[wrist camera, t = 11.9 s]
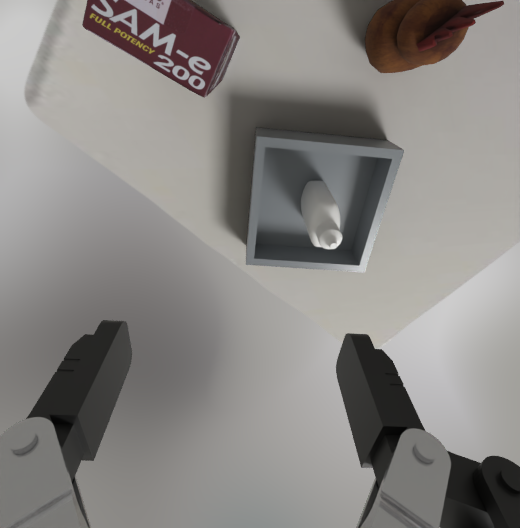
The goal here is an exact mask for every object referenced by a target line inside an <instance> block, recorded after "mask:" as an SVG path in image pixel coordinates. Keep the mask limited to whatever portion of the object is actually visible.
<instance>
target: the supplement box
mask: <svg viewBox="0 0 520 528" xmlns="http://www.w3.org/2000/svg"><path fill="white" fill-rule="evenodd" d="M83 27H84V28H85V29H86V30H88V31H90V32H92V33H94V34H95V35H97V36H99V37H100V38H102V39H104V40H106V41H107V42H109V43H111V44H112V45H114V46H116V47H118V48H119V49H121V50H123V51H125V52H126V53H128V54H130V55H131V56H133V57H135V58H137V59H138V60H140V61H142V62H143V63H145V64H147V65H149V66H150V67H152V68H153V69H155V70H157V71H158V72H160V73H162V74H163V75H165V76H167V77H168V78H170V79H172V80H174V81H175V82H177V83H179V84H180V85H182V86H184V87H185V88H187V89H189V90H191V91H192V92H194V93H196V94H198V95H200V96H202V97H206V96H207V95H208V94H209V93H211V91H212V90H213V89H214V88H215V87H216V86H217V85H218V84H219V83H220V82H221V81H222V80H223V77H224V75H225V72H226V70H227V67H228V65H229V63H230V60H231V58H232V55H233V53H234V50H235V48H236V45H237V43H238V41H239V38H240V36H239V35H238V33H237V32H236V30H235V29H234V28H233V27H231V26H230V25H228V24H226V23H224V22H223V21H221V20H220V19H218V18H217V17H215V16H214V15H212V14H211V13H209V12H208V11H206V10H205V9H203V8H202V7H200V6H199V5H197V4H196V3H194V2H193V1H191V0H87V6H86V10H85V15H84V20H83Z"/></svg>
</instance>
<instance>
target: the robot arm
mask: <svg viewBox="0 0 520 528" xmlns="http://www.w3.org/2000/svg"><path fill="white" fill-rule="evenodd" d="M131 359H132V349H131V344H130V338H129V332H128V326H127V323H126V322H125V321H108V320H103V321H102V322H101V323H100V325H99V326H98V328H97V330H96V332H95V334H94V335H87V334H85V335H84V336H83V337H81V338H80V339H79V340H78V341H77V342H76V343H74V344H73V345H72V346H71V348H70V349H69V351H68V353H67V354H66V356H65V358H64V361H62V363H61V364H60V366H59V368H58V369H57V372H55V374H54V375H53V377H52V379H51V381H50V382H49V384H48V385H47V387H46V388H45V390H44V392H43V393H42V395H41V397H40V398H39V400H38V401H37V403H36V405H35V406H34V408H33V410H32V411H31V413H30V414H29V416H28V417H27V418H26V419H25V420H22V421H20V422H18V423H16V424H14V425H13V426H11V427H10V428H8V429H7V430H6V431H5V432H4V433H3V434H2V435H1V436H0V528H91V525H90V522H89V519H88V516H87V512H86V509H85V505H84V502H83V499H82V496H81V492H80V489H79V486H78V482H77V479H76V476H75V474H76V472H77V469H78V467H79V465H80V462H81V460H91V461H93V460H94V458H95V456H96V453H97V450H98V448H99V445H100V442H101V440H102V438H103V435H104V432H105V430H106V427H107V425H108V422H109V420H110V417H111V414H112V411H113V409H114V407H115V404H116V401H117V399H118V396H119V393H120V391H121V389H122V386H123V383H124V380H125V378H126V376H127V373H128V371H129V367H130V364H131ZM336 373H337V379H338V383H339V386H340V390H341V394H342V397H343V401H344V404H345V409H346V412H347V416H348V420H349V423H350V427H351V431H352V435H353V438H354V442H355V446H356V449H357V453H358V457H359V460H360V464H361V467H362V468H373V470H374V473H375V476H376V478H375V480H374V483H373V485H372V488H371V490H370V493H369V496H368V498H367V501H366V503H365V506H364V509H363V511H362V514H361V516H360V519H359V522H358V524H357V527H356V528H439V527H440V528H520V467H519V466H518V465H516V464H515V463H513V462H511V461H510V460H508V459H505V458H502V457H499V456H489V457H487V458H485V460H483V462H482V463H478V462H476V461H473V460H470V459H468V458H465V457H462V456H459V455H456V454H453V453H451V452H449V451H447V450H446V449H445V447H444V446H443V445H442V443H441V442H440V441H439V440H438V439H437V438H435V437H434V436H433V435H431V434H430V433H428V432H426V431H425V429H424V427H423V425H422V423H421V421H420V419H419V417H418V415H417V413H416V410H415V408H414V406H413V404H412V402H411V400H410V397H409V395H408V393H407V391H406V389H405V387H403V382H402V380H401V378H400V376H398V372H397V370H396V367H395V365H394V363H393V361H392V360H391V359H390V358H389V357H388V356H387V355H386V354H385V352H384V351H383V350H382V349H375V348H374V346H373V344H372V341H371V339H370V337H369V336H368V335H367V334H346V335H345V338H344V341H343V344H342V347H341V350H340V353H339V356H338V360H337V365H336Z"/></svg>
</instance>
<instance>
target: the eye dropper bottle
mask: <svg viewBox="0 0 520 528" xmlns="http://www.w3.org/2000/svg"><path fill="white" fill-rule="evenodd" d="M301 212H302V216H303V219H304V222H305V225H306V228H307V231H308V234H309V237H310V239H311V242H312V244H313V245H314V246H316V247H323V248H325V249H336V248H337V247H338V246H339V244H340V243H341V241H342V234H341V232H340V230H339V228H340V213H339V209H338V206H337V203H336V201H335V199H334V198H333V196H332V194H331V192H330V191H329V189H328V187H327V185H326V184H325V182H324V181H309V182H308V183H307V184H306V185H305V188H304V190H303V193H302V197H301Z"/></svg>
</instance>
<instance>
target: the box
mask: <svg viewBox="0 0 520 528" xmlns="http://www.w3.org/2000/svg"><path fill="white" fill-rule="evenodd" d="M403 153H404V150H403V149H401V148H400V147H398V146H396V145H395V144H393V143H392V142H390V141H388V140H381V139H371V138H360V137H350V136H340V135H329V134H319V133H309V132H298V131H288V130H278V129H267V128H257V127H256V134H255V146H254V158H253V170H252V182H251V194H250V207H249V219H248V231H247V243H246V265H260V266H275V267H290V268H305V269H321V270H336V271H351V272H365V269H366V266H367V263H368V260H369V257H370V254H371V251H372V248H373V245H374V242H375V239H376V236H377V233H378V229H379V226H380V223H381V220H382V217H383V214H384V211H385V208H386V205H387V202H388V199H389V196H390V193H391V189H392V186H393V183H394V180H395V177H396V174H397V171H398V168H399V165H400V162H401V159H402V156H403ZM309 181H324V182H325V184H326V185H327V187H328V189H329V191H330V192H331V194H332V196H333V198H334V199H335V201H336V203H337V206H338V209H339V213H340V228H339V230H340V232H341V234H342V241H341V243H340V244H339V246H338V247H337V248H336V249H325V248H323V247H316V246H314V245H313V244H312V242H311V239H310V237H309V234H308V231H307V228H306V225H305V222H304V219H303V216H302V212H301V197H302V193H303V190H304V188H305V185H306V184H307V183H308V182H309Z"/></svg>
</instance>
